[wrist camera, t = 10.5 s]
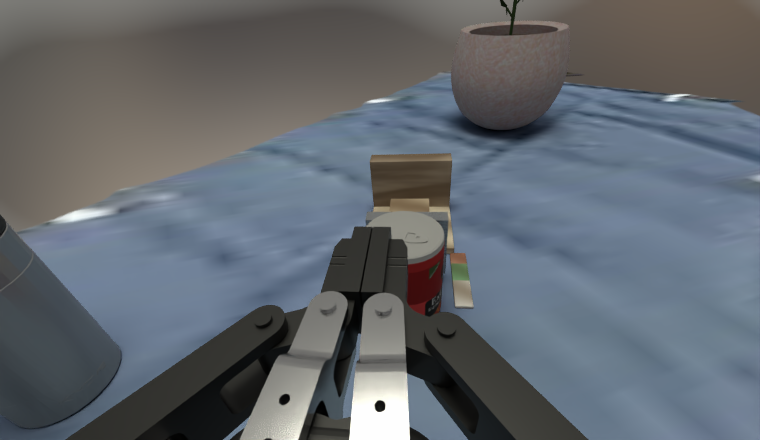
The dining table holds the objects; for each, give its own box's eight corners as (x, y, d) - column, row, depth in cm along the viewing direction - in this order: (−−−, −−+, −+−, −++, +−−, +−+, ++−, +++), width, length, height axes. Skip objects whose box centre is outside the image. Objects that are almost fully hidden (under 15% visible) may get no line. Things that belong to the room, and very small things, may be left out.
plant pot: (431, 119, 88) (434, -22, 70) (508, 103, 94) (529, -30, 76) (485, 153, 69) (508, -26, 52) (577, 131, 75) (625, -36, 58)
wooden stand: (473, 308, 38) (481, 248, 33) (343, 303, 40) (332, 246, 35) (457, 203, 55) (461, 153, 50) (367, 203, 57) (362, 154, 52)
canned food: (442, 336, 35) (447, 260, 29) (367, 333, 36) (356, 258, 30) (439, 283, 42) (443, 210, 35) (375, 281, 43) (367, 209, 36)
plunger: (445, 274, 41) (448, 220, 36) (371, 272, 42) (365, 220, 37) (440, 215, 50) (442, 167, 46) (381, 215, 52) (377, 168, 47)
